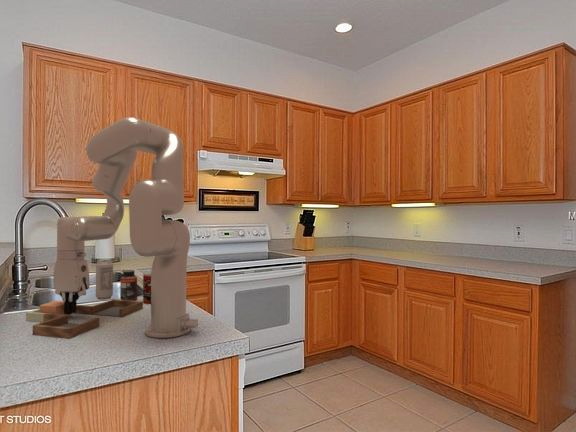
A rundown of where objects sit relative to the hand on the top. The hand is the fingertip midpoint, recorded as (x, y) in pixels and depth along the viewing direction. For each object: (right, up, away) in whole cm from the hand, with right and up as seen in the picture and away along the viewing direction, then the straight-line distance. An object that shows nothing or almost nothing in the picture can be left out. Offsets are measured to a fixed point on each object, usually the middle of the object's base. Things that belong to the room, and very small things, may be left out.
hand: (70, 313), depth 116 cm
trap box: (+3, -2, -1) cm, 3 cm away
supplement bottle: (+8, -2, +25) cm, 26 cm away
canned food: (+18, -2, +22) cm, 29 cm away
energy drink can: (-3, -2, +27) cm, 28 cm away
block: (-5, -2, +1) cm, 5 cm away
